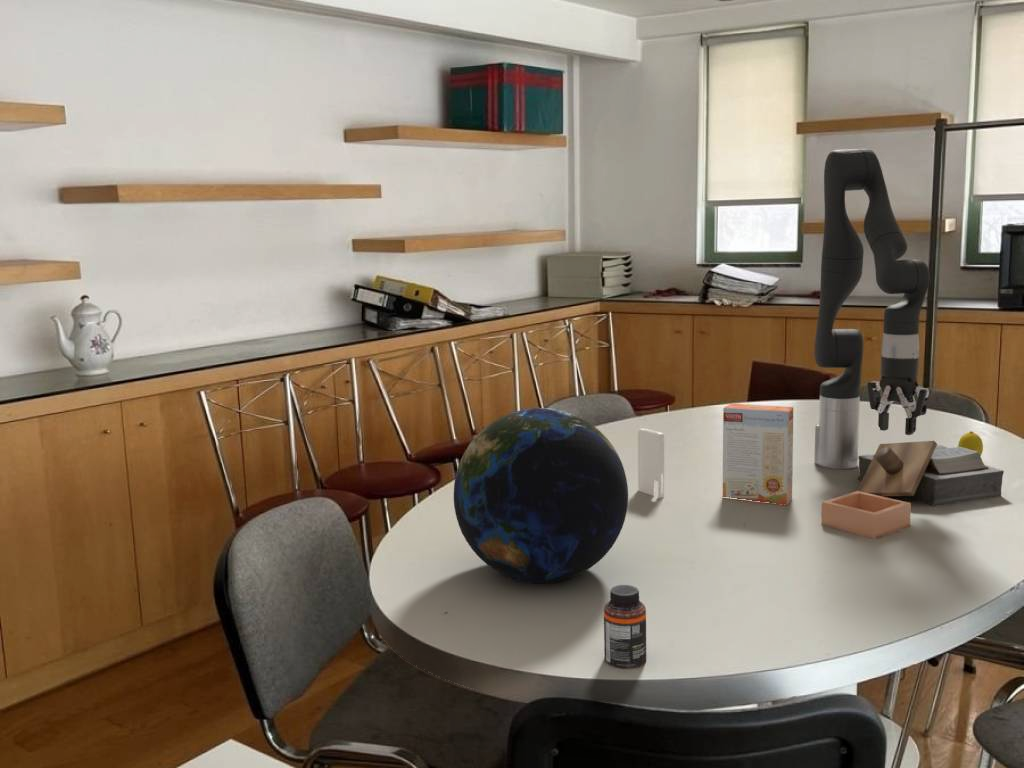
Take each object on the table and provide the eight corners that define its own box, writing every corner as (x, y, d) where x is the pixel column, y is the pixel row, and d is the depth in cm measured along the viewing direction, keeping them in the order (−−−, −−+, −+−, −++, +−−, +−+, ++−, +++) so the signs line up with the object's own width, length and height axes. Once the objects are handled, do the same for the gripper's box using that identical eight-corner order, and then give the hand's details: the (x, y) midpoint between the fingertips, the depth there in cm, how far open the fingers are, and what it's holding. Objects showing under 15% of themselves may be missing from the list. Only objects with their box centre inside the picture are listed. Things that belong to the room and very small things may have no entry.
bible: (913, 511, 219) (915, 465, 218) (848, 479, 245) (849, 437, 244) (1013, 502, 224) (1015, 457, 222) (938, 471, 250) (940, 431, 248)
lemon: (984, 466, 252) (986, 434, 251) (959, 465, 253) (961, 433, 252) (979, 461, 257) (980, 429, 256) (955, 460, 259) (956, 428, 257)
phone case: (637, 494, 235) (637, 428, 233) (642, 493, 236) (642, 427, 233) (659, 501, 229) (659, 434, 226) (664, 500, 230) (664, 433, 227)
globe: (656, 596, 174) (656, 419, 169) (481, 620, 166) (475, 434, 161) (592, 542, 203) (590, 389, 198) (439, 560, 194) (433, 400, 189)
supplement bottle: (617, 653, 153) (616, 578, 151) (654, 662, 149) (654, 586, 148) (596, 668, 148) (595, 591, 146) (634, 678, 145) (633, 600, 143)
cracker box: (792, 500, 227) (795, 405, 224) (786, 508, 222) (788, 411, 219) (728, 494, 234) (730, 401, 230) (721, 501, 228) (722, 406, 225)
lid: (859, 496, 231) (844, 480, 229) (882, 447, 236) (869, 431, 235) (913, 495, 219) (899, 478, 217) (937, 444, 225) (923, 427, 223)
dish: (821, 526, 209) (822, 502, 208) (856, 514, 217) (857, 490, 216) (874, 540, 200) (875, 515, 199) (909, 527, 207) (910, 502, 206)
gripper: (859, 352, 226) (857, 429, 229) (921, 359, 215) (917, 440, 218) (879, 349, 231) (877, 424, 234) (941, 355, 220) (937, 434, 223)
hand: (896, 431), depth 226 cm, fingers open, 5 cm apart
